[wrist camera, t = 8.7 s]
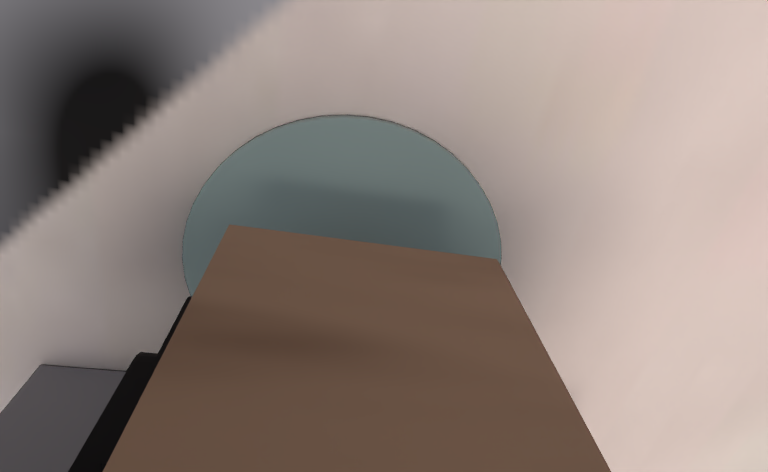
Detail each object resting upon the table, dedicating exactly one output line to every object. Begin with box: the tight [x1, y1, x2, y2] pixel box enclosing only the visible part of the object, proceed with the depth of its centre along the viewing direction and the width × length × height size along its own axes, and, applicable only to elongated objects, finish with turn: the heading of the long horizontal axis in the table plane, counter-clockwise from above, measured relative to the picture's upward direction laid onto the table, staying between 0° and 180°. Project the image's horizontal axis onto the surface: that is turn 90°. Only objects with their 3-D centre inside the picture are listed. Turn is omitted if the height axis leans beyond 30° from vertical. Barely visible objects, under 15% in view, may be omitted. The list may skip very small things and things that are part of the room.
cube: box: [103, 224, 611, 472], centre depth 9 cm, size 6×6×6 cm
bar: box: [0, 365, 126, 472], centre depth 15 cm, size 2×20×5 cm, turn 79°
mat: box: [182, 115, 501, 297], centre depth 14 cm, size 10×10×1 cm
